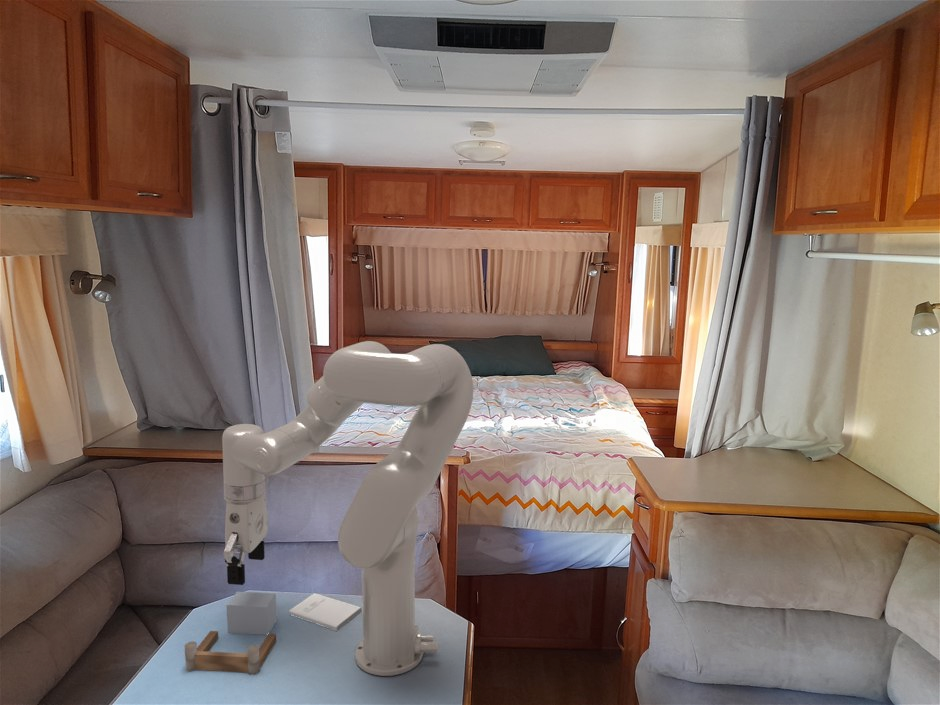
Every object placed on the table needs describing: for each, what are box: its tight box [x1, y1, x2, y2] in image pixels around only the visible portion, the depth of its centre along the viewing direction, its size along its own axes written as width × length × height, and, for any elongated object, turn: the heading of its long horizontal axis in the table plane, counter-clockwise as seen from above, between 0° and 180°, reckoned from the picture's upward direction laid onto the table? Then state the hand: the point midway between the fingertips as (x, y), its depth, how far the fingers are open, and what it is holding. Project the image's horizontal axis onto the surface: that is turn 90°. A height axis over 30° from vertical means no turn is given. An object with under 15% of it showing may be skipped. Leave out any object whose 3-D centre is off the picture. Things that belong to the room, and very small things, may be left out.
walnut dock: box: [183, 630, 277, 675], centre depth 122 cm, size 14×10×4 cm
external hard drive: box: [288, 592, 363, 632], centre depth 137 cm, size 2×8×12 cm
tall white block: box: [225, 591, 278, 635], centre depth 132 cm, size 8×5×6 cm, turn 86°
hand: (246, 570), depth 130 cm, fingers open, 9 cm apart
